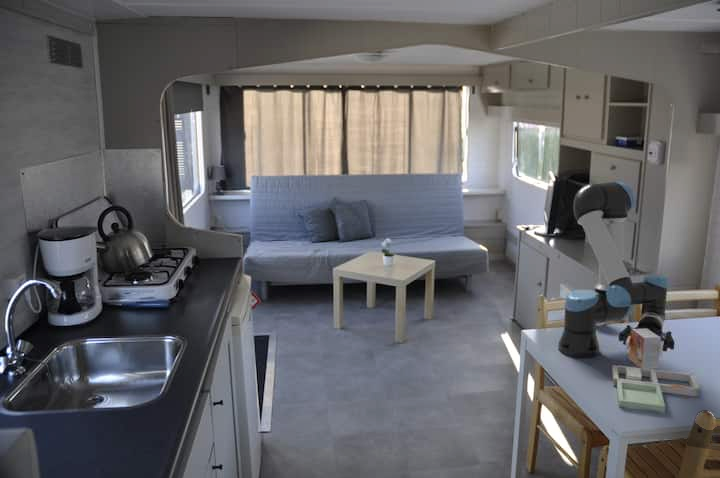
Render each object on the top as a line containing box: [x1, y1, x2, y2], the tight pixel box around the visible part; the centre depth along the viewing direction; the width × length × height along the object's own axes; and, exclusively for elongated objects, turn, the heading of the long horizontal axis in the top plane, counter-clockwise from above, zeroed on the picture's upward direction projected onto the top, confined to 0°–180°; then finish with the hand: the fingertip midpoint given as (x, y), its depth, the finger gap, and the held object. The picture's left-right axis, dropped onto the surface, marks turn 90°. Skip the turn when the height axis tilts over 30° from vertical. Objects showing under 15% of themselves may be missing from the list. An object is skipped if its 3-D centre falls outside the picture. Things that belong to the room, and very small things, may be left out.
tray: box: [616, 380, 666, 415], centre depth 196 cm, size 13×15×2 cm
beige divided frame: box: [611, 364, 701, 398], centre depth 207 cm, size 26×12×3 cm, turn 70°
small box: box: [628, 328, 661, 369], centre depth 192 cm, size 8×6×10 cm
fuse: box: [624, 366, 643, 381], centre depth 209 cm, size 5×7×4 cm, turn 160°
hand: (643, 349), depth 188 cm, fingers closed on small box, 9 cm apart
